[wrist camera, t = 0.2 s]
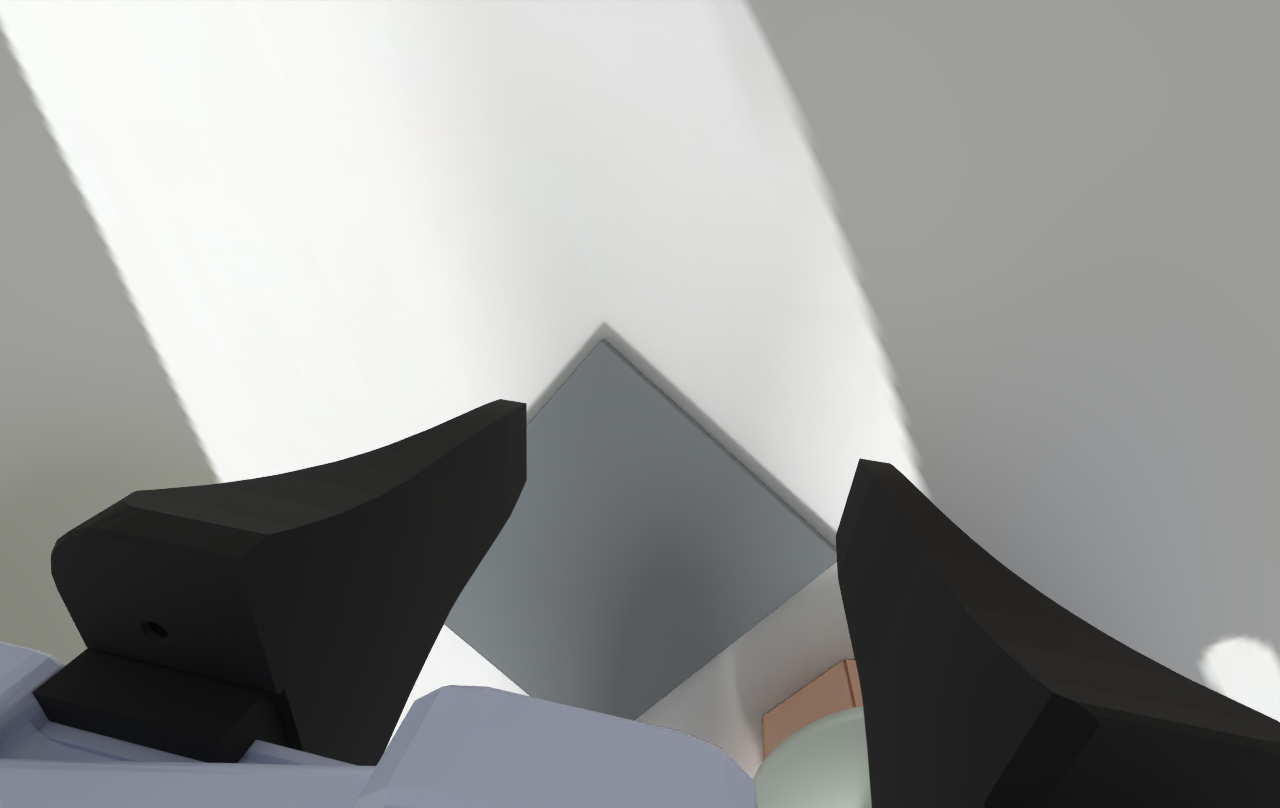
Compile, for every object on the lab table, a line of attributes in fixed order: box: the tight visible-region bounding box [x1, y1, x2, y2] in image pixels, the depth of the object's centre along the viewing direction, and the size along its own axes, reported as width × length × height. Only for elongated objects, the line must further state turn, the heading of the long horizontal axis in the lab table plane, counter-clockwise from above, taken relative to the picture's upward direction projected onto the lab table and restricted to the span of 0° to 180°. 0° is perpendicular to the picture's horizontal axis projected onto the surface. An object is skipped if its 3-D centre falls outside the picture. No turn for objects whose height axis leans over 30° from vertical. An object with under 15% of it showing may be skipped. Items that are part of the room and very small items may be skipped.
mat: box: [444, 339, 837, 720], centre depth 26 cm, size 16×13×1 cm
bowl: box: [762, 659, 863, 762], centre depth 25 cm, size 12×12×3 cm
